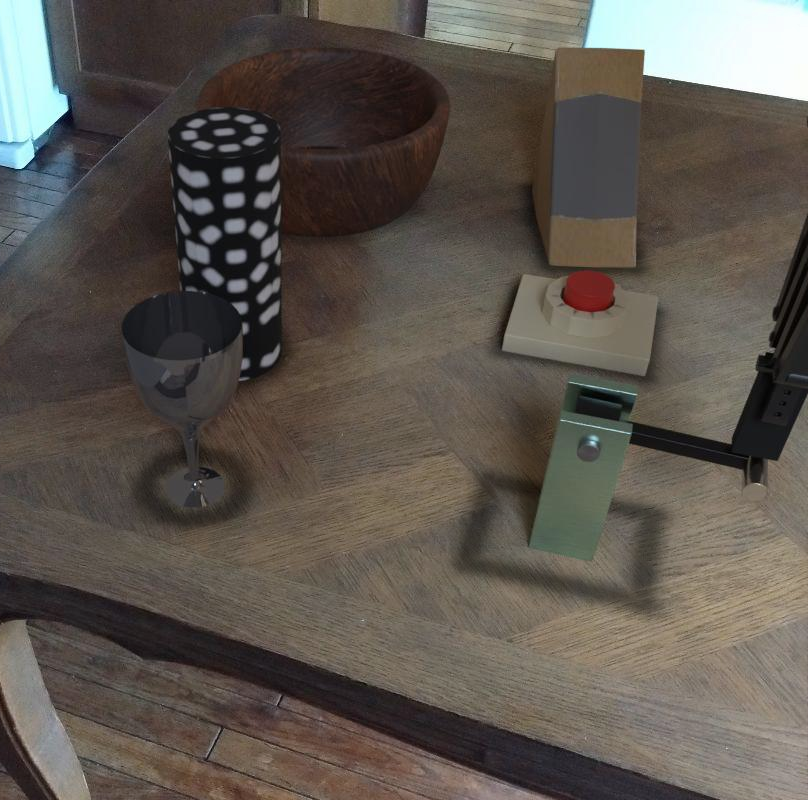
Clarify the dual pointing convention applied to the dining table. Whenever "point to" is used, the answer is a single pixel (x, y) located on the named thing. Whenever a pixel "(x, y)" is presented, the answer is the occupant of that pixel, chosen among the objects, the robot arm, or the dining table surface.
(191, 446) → the wine glass
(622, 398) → the bracket
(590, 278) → the button
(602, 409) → the lever
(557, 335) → the block
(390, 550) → the dining table surface
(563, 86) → the sandwich container
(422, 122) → the wooden bowl
